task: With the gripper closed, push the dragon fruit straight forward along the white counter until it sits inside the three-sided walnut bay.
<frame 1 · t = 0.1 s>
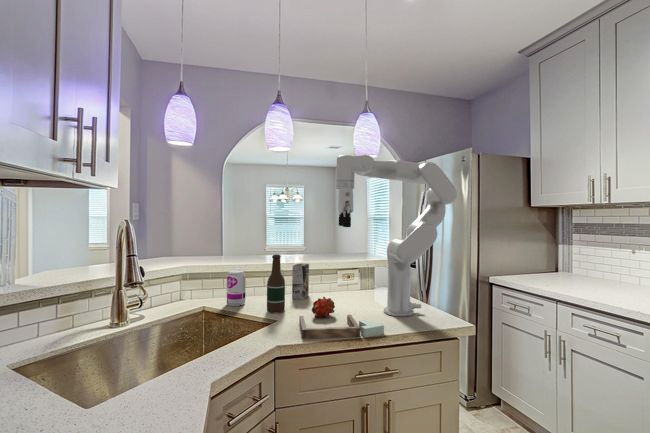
hand: (344, 226, 147), 37 cm above the worktop, tool pointing down, fingers open, 9 cm apart
coffee box: (300, 297, 176), on the worktop
beer bottle: (275, 311, 151), on the worktop
t block: (368, 331, 127), on the worktop
dragon fruit: (322, 317, 144), on the worktop
supplement can: (236, 304, 161), on the worktop
bay: (327, 329, 129), on the worktop
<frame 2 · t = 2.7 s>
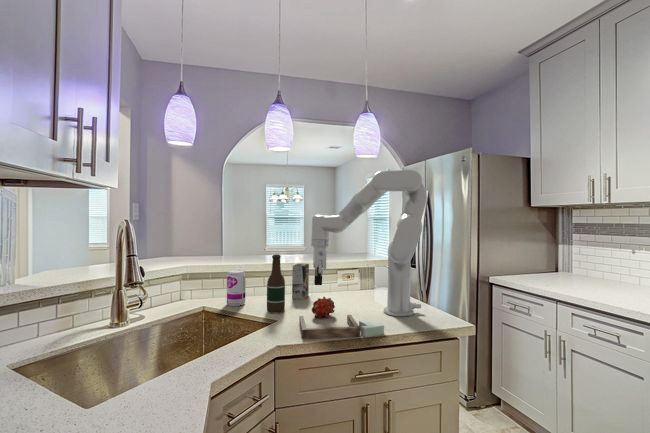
hand: (318, 284, 156), 10 cm above the worktop, tool pointing down, fingers closed
nothing on the worktop moved.
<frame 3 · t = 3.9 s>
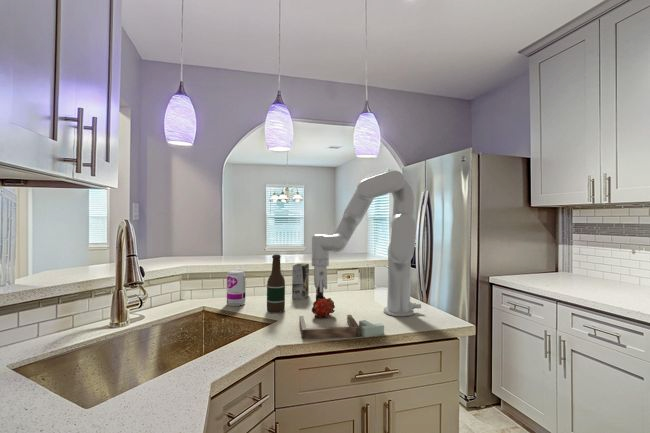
hand: (319, 303, 155), 2 cm above the worktop, tool pointing down, fingers closed
nothing on the worktop moved.
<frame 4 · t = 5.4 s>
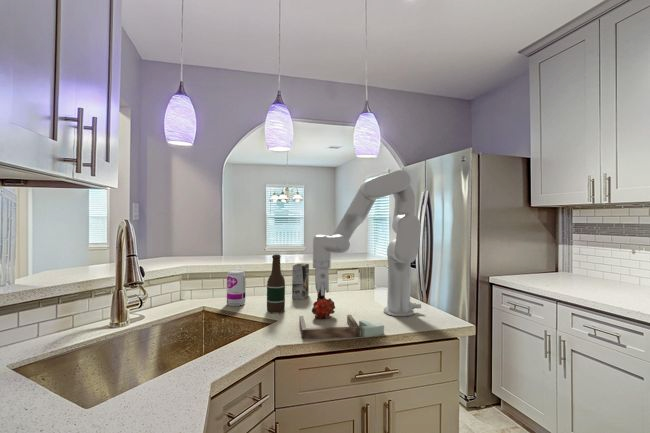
hand: (320, 307, 149), 2 cm above the worktop, tool pointing down, fingers closed
dragon fruit: (323, 318, 143), on the worktop, touching gripper
everything else where it was.
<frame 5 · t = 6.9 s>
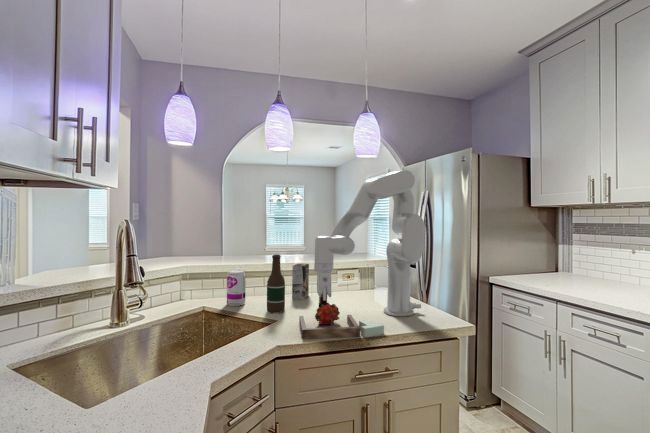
hand: (322, 313, 141), 2 cm above the worktop, tool pointing down, fingers closed
dragon fruit: (326, 324, 135), on the worktop, touching gripper
everything else where it was.
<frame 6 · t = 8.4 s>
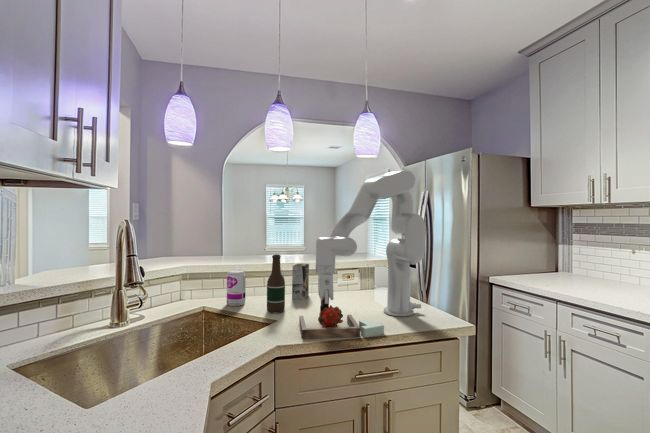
hand: (324, 316, 137), 2 cm above the worktop, tool pointing down, fingers closed
dragon fruit: (330, 328, 131), on the worktop, touching gripper
everything else where it was.
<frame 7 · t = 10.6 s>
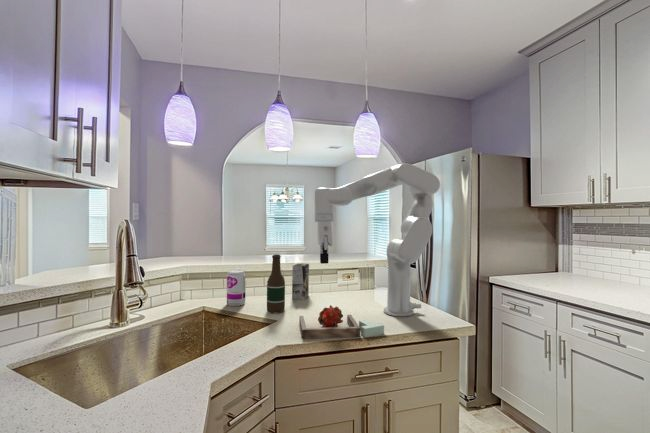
hand: (324, 263, 144), 22 cm above the worktop, tool pointing down, fingers closed
dragon fruit: (329, 328, 131), on the worktop
everything else where it was.
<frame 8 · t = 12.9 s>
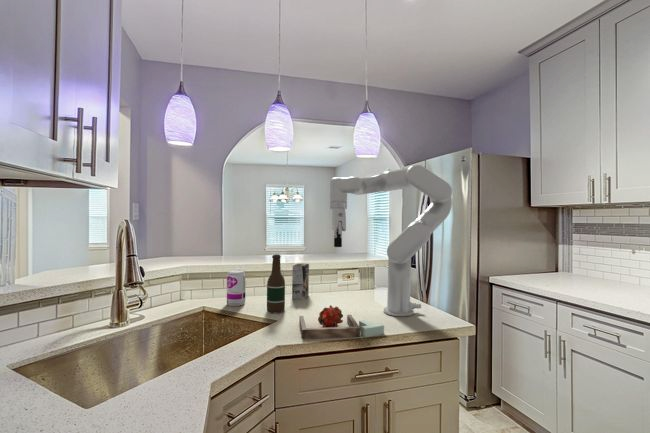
hand: (337, 246, 157), 27 cm above the worktop, tool pointing down, fingers closed
nothing on the worktop moved.
at the end: dragon fruit inside the target area on the bay (2.9 cm from its centre), point 0.0 cm above the bay's base; dragon fruit moved 13.4 cm from its start; t block moved 0.1 cm from its start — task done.
